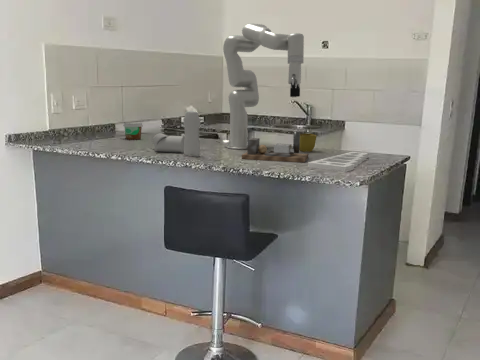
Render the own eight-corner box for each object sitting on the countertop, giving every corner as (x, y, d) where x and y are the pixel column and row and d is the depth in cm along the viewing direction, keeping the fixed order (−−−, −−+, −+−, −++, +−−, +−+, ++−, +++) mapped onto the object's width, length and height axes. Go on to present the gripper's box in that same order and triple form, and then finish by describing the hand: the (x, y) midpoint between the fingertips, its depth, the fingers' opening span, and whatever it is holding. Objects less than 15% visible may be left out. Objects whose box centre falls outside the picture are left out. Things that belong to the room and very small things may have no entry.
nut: (256, 154, 261) (257, 145, 260) (258, 153, 265) (259, 144, 264) (265, 154, 259) (266, 145, 259) (267, 153, 264) (267, 144, 263)
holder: (351, 157, 273) (351, 151, 273) (385, 160, 263) (386, 155, 262) (307, 168, 238) (307, 162, 237) (344, 173, 227) (345, 166, 227)
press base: (241, 159, 258) (241, 140, 256) (248, 155, 271) (249, 137, 270) (304, 162, 250) (304, 143, 249) (308, 158, 264) (309, 139, 262)
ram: (273, 152, 257) (274, 131, 255) (277, 150, 264) (277, 130, 262) (297, 153, 254) (298, 132, 252) (300, 151, 261) (301, 131, 259)
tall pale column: (181, 155, 268) (180, 110, 264) (186, 154, 271) (186, 110, 267) (197, 157, 262) (197, 111, 258) (202, 156, 265) (202, 111, 261)
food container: (119, 139, 326) (119, 123, 324) (124, 138, 332) (124, 122, 330) (138, 140, 323) (137, 123, 321) (142, 139, 329) (142, 123, 327)
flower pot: (300, 152, 282) (301, 135, 281) (294, 150, 291) (295, 133, 289) (316, 152, 285) (317, 135, 283) (309, 150, 293) (310, 133, 291)
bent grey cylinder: (142, 150, 275) (179, 151, 271) (143, 129, 275) (180, 131, 271) (154, 153, 292) (190, 154, 288) (155, 133, 292) (191, 135, 288)
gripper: (290, 61, 266) (290, 96, 269) (284, 59, 250) (284, 97, 252) (305, 61, 264) (305, 96, 267) (300, 59, 248) (300, 97, 251)
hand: (295, 96), depth 260 cm, fingers open, 9 cm apart
